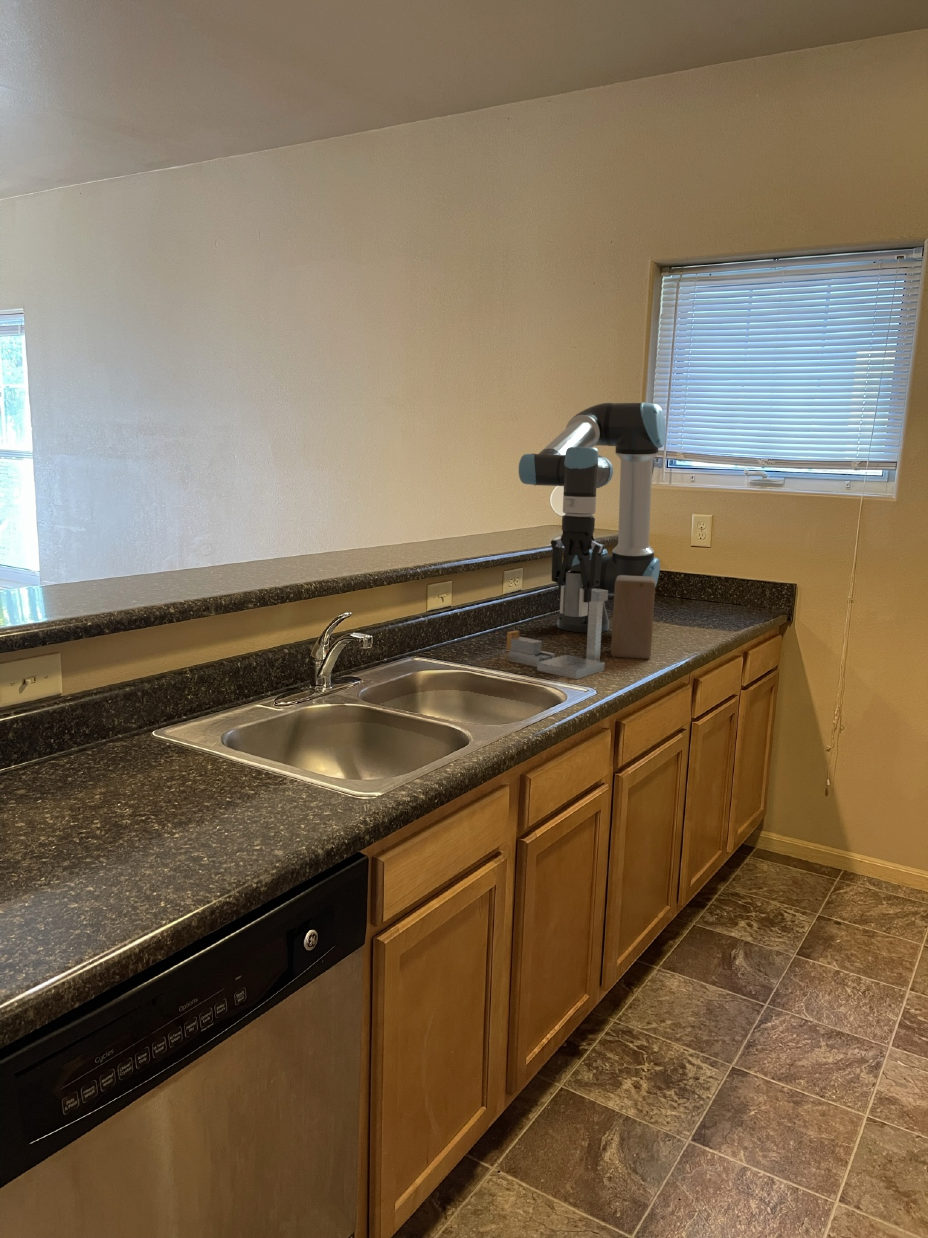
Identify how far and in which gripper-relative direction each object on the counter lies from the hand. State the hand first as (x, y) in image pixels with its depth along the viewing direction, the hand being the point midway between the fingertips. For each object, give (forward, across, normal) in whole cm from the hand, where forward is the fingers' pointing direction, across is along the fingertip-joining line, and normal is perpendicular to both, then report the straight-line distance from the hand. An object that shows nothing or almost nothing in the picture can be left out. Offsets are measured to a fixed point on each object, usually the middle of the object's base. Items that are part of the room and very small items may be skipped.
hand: (573, 614), depth 215 cm
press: (+14, -5, +3) cm, 15 cm away
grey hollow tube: (0, 0, 0) cm, 1 cm away
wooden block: (+14, +1, +26) cm, 30 cm away
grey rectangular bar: (+11, -14, 0) cm, 18 cm away
